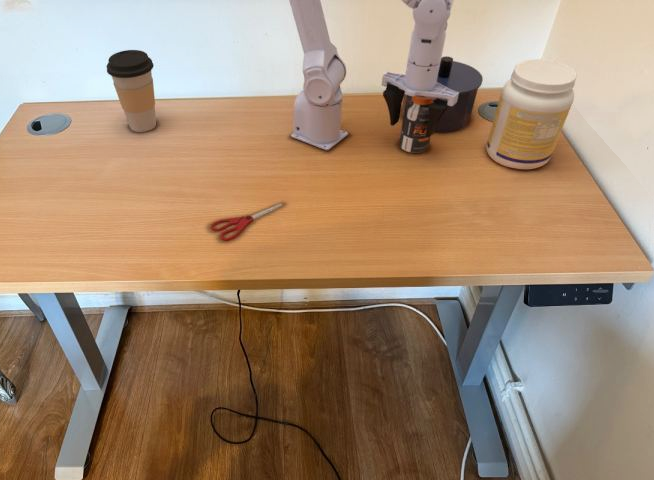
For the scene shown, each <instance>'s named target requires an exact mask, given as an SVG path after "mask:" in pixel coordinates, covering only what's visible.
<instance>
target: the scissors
mask: <svg viewBox="0 0 654 480" xmlns="http://www.w3.org/2000/svg"><path fill="white" fill-rule="evenodd" d="M282 206H283V203H280V204H279V203H278V204H276V205H274V206H272V207H270V208H267V209H264V210H262V211H260V212H257V213H255V214H253V215H246V216H238V217H231V218H230V217H229V218H224V219H219V220H217V221H214V222H212V223H211V224H210V229H211V230H212V231H213V232H221V233H220V235H219V238H220V240H221V241H222V242H229V241H232V240H234V239H235V238H237V237H238V236H240V235H241V233H242V232H244V230H245V229H246V228H247V227H248V226H249V225H250V224H251V223H252V222H253V221H254V220H255V219H258V218H260V217H262V216H264V215H266V214H268V213H270V212H272V211H274V210H276V209H278V208H280V207H282ZM223 223H226V224H224V225H223V226H220V227H215V226H217V225H219V224H223ZM231 226H233V227H231ZM229 227H231V228H229ZM227 228H229V229H227ZM235 231H236V232H235ZM232 232H235V233H234V234H232V235H230V236H228V237H225V236H226V235H227V234H229V233H232Z"/></svg>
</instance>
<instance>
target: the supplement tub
mask: <svg viewBox="0 0 654 480" xmlns="http://www.w3.org/2000/svg"><path fill="white" fill-rule="evenodd" d="M510 75H511V76H510V78H509V79H508V80H507V81H506V82H505V83H504V84H503V87H502V89H501V93H500V97H499V99H498V104H497V107H496V110H495V114H494V117H493V120H492V124H491V126H490V127H491V128H490V131H489V134H488V137H487V141H486V146H485V147H486V148H485V149H486V152H487V155H488V156H489V157H490V158H491V159H492V160H493V161H494V162H496V163H497V164H500V165H502V166H504V167H507V168H511V169H515V170H516V169H517V170H533V169H538V168H540V167H542V166H545V165H546V164H547V163H548V162H549V161H550V160H551V158H552V156H553V153H554V150H555V148H556V146H557V143H558V140H559V138H560V135H561V133H562V131H563V128H564V125H565V123H566V121H567V118H568V115H569V113H570V110H571V108H572V106H573V103H574V99H575V92H574V89H573V88H574V87H575V84H576V79H577V77H578V75H577V72H576V71H575V69H573V68H572V67H570V66H569V65H567V64H565V63H563V62H558V61H555V60H551V59H542V58H536V59H526V60H523V61H521V62H518V63H517V64H516V65H515V66H514V68H513V70H512V73H511V74H510Z"/></svg>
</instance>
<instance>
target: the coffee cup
mask: <svg viewBox="0 0 654 480" xmlns="http://www.w3.org/2000/svg"><path fill="white" fill-rule="evenodd" d="M153 68H154V63H153V60H152V58H150V57H149V55H148V53H146V52H145V51H143V50H139V49H126V50H120V51H118V52H114V53H113V54H112V55H110V56H109V58H108V62H107V64H106V73H107V74H108V75H109V76H111V78H112V81H113V87H114V89H115V92H116V95H117V98H118V100H119V104H120V106H121V109H122V110H123V112H124V115H125V118H126V121H127V123H128V126H129V129H130V131H132V132H136V133H145V132H149V131H152V130H153V129H154V128H156V126H157V116H156V98H155V88H154V78H153V74H152V70H153Z"/></svg>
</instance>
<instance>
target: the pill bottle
mask: <svg viewBox="0 0 654 480" xmlns="http://www.w3.org/2000/svg"><path fill="white" fill-rule="evenodd" d="M432 103H433V99H432V98H428V97H425V96H420V95H416V96H412V100H411V101H409V102H408V103H407V104H406V106H405V112H404V117H402V124H401V128H400V129H401V130H400V135H399V141H398V146H399V147H400V148H401V149H402V150H403V151H405V152H407V153H411V154H420V153H423V152H426V151H427V150H428V148H429V145H430V142H431V137H432V135H431V136H430V137H429V138H428V137H426V130H427V126H428V121H429V106H430V105H431V104H432Z"/></svg>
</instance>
